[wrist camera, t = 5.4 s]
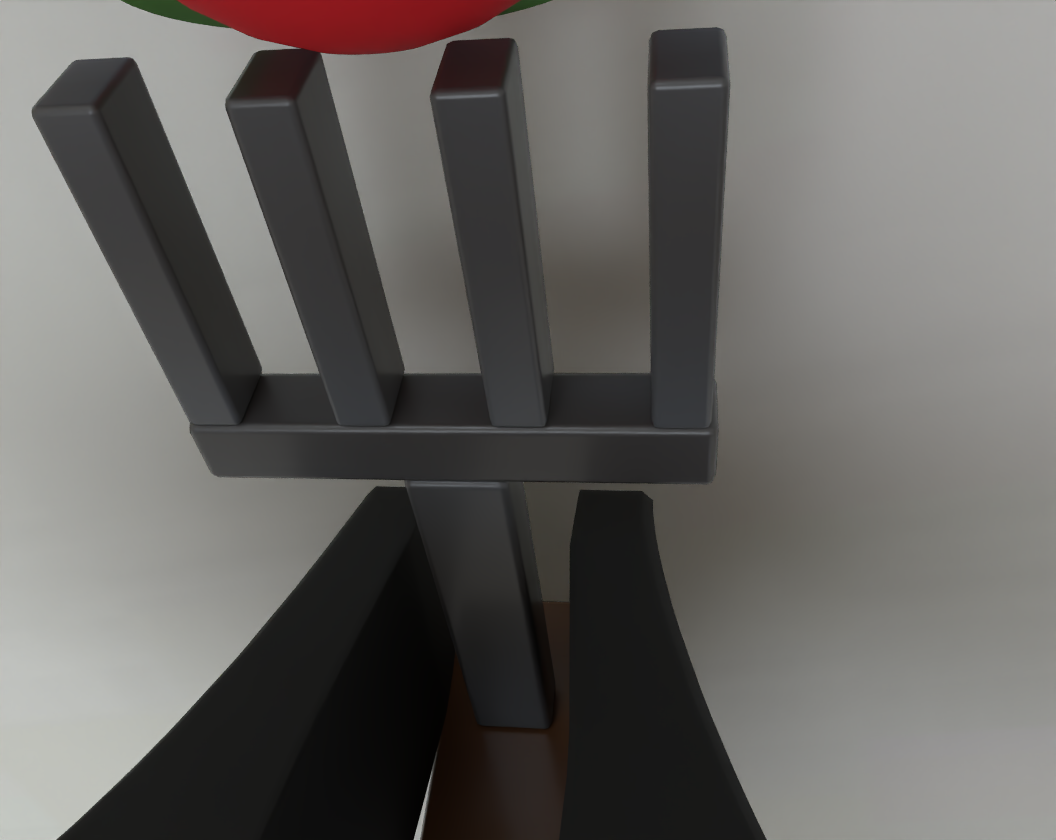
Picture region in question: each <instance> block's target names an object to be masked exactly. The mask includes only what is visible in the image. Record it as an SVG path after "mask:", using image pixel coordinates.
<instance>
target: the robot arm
mask: <svg viewBox="0 0 1056 840" xmlns="http://www.w3.org/2000/svg"><path fill="white" fill-rule="evenodd" d="M454 659H455V648H454V645H453V642H452V638H451V635H450V632H449V628H448V625H447V622H446V618H445V615H444V612H443V608H442V605H441V602H440V598H439V595H438V592H437V588H436V585H435V582H434V578H433V575H432V572H431V568H430V565H429V562H428V558H427V555H426V552H425V548H424V545H423V542H422V538H421V535H420V532H419V528H418V525H417V522H416V518H415V515H414V512H413V508H412V505H411V502H410V498H409V495H408V492H407V488H406V487H379V486H376V487H375V488H374V489H373V490H372V491H371V492H370V493H369V494H368V495H367V496H366V497H365V499H364V500H363V501H362V503H361V504H360V505H359V506H358V508H357V509H356V510H355V512H354V513H353V514H352V516H351V517H350V518H349V520H348V521H347V522H346V524H345V525H344V526H343V527H342V529H341V530H340V531H339V533H338V534H337V535H336V537H335V538H334V539H333V541H332V542H331V543H330V544H329V546H328V547H327V548H326V550H325V551H324V552H323V553H322V555H321V556H320V557H319V559H318V560H317V561H316V562H315V564H314V565H313V566H312V567H311V569H310V570H309V571H308V573H307V574H306V575H305V576H304V578H303V579H302V580H301V581H300V583H299V584H298V585H297V586H296V588H295V589H294V590H293V591H292V593H291V594H290V595H289V596H288V597H287V599H286V600H285V601H284V602H283V603H282V605H281V606H280V607H279V608H278V609H277V611H276V612H275V613H274V614H273V615H272V617H271V618H270V619H269V620H268V621H267V623H266V624H265V625H264V626H263V627H262V629H261V630H260V631H259V632H258V633H257V635H256V636H255V637H254V638H253V639H252V641H251V642H250V643H249V644H248V645H247V647H246V648H245V649H244V650H243V651H242V652H241V653H240V655H239V656H238V657H237V658H236V659H235V660H234V661H233V663H232V664H231V665H230V666H229V667H228V668H227V669H226V670H225V671H224V672H223V674H222V675H221V676H220V677H219V678H218V679H217V680H216V681H215V682H214V683H213V684H212V686H211V687H210V688H209V689H208V690H207V691H206V692H205V693H204V694H203V695H202V696H201V698H200V699H199V700H198V701H197V702H196V703H195V704H194V705H193V706H192V707H191V708H190V710H189V711H188V712H187V713H186V714H185V715H184V716H183V717H182V718H181V719H180V720H179V722H178V723H177V724H176V725H175V726H174V727H173V728H172V729H171V730H170V731H169V732H168V733H167V734H166V735H165V736H164V737H163V738H162V739H161V740H160V741H159V742H158V743H157V744H156V745H155V746H154V747H153V749H152V750H151V751H150V752H149V753H148V754H147V755H146V756H145V757H144V758H143V759H142V760H141V761H140V762H139V763H138V764H137V765H136V766H135V767H134V768H133V769H132V770H131V771H130V772H128V773H127V774H126V775H125V776H124V777H123V778H122V779H121V780H120V781H119V782H118V783H117V784H116V785H115V786H114V787H113V788H112V789H111V790H110V791H109V792H108V793H107V794H106V795H105V796H103V797H102V798H101V799H100V800H99V801H98V802H97V803H96V804H95V805H94V806H93V807H92V808H91V809H90V810H89V811H88V812H87V813H86V814H84V815H83V816H82V817H81V818H80V819H79V820H78V821H77V822H76V823H75V824H74V825H73V826H71V827H70V828H69V829H68V830H67V831H66V832H65V833H64V834H62V835H61V836H60V837H59V838H58V839H57V840H414V836H415V832H416V829H417V825H418V821H419V817H420V813H421V810H422V806H423V802H424V798H425V794H426V791H427V787H428V783H429V779H430V775H431V771H432V768H433V764H434V760H435V756H436V752H437V748H438V744H439V740H440V737H441V733H442V729H443V725H444V721H445V717H446V713H447V707H448V700H449V694H450V687H451V680H452V674H453V667H454ZM559 840H767V839H766V837H765V835H764V833H763V831H762V829H761V827H760V825H759V823H758V821H757V819H756V817H755V815H754V813H753V810H752V808H751V806H750V804H749V802H748V800H747V798H746V795H745V793H744V791H743V789H742V787H741V784H740V782H739V780H738V778H737V775H736V773H735V771H734V769H733V766H732V764H731V762H730V759H729V757H728V755H727V752H726V750H725V748H724V745H723V743H722V741H721V738H720V736H719V733H718V731H717V729H716V726H715V724H714V722H713V719H712V717H711V714H710V712H709V709H708V706H707V704H706V701H705V699H704V696H703V694H702V691H701V689H700V686H699V683H698V680H697V677H696V675H695V672H694V669H693V666H692V663H691V660H690V658H689V655H688V652H687V649H686V646H685V643H684V640H683V638H682V635H681V632H680V629H679V626H678V623H677V619H676V616H675V613H674V610H673V606H672V603H671V599H670V596H669V592H668V588H667V584H666V581H665V577H664V573H663V569H662V565H661V560H660V555H659V551H658V545H657V540H656V534H655V526H654V517H653V500H652V499H651V498H650V497H648V496H647V495H646V494H645V493H644V492H642V491H609V490H580V492H579V497H578V502H577V508H576V513H575V518H574V524H573V530H572V536H571V542H570V626H569V743H568V761H567V778H566V786H565V795H564V803H563V811H562V819H561V827H560V836H559Z"/></svg>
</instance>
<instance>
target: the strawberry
mask: <svg viewBox="0 0 1056 840" xmlns="http://www.w3.org/2000/svg"><path fill="white" fill-rule="evenodd" d="M121 1H123V2H125V3H127V4H129V5H131V6H134V7H137V8H139V9H142V10H145V11H148V12H151V13H153V14H157V15H161V16H164V17H168V18H172V19H177V20H181V21H186V22H191V23H197V24H203V25H210V26H217V27H225V28H233V29H235V30H237V31H240V32H242V33H244V34H246V35H248V36H251V37H254V38H257V39H260V40H265V41H269V42H274V43H279V44H283V45H288V46H293V47H297V48H302V49H307V50H311V51H316V52H321V53H328V54H347V55H360V54H379V53H390V52H398V51H404V50H409V49H414V48H418V47H421V46H424V45H427V44H430V43H433V42H436V41H439V40H442V39H445V38H448V37H451V36H454V35H457V34H460V33H463V32H466V31H469V30H471V29H474V28H477V27H479V26H480V25H482V24H484V23H485V22H487V21H489V20H490V19H492V18H493V17H495V16H498V15H503V14H507V13H511V12H515V11H519V10H523V9H527V8H530V7H533V6H537V5H540V4H543V3H546V2H549V1H551V0H121Z"/></svg>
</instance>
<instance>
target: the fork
mask: <svg viewBox="0 0 1056 840" xmlns="http://www.w3.org/2000/svg"><path fill="white" fill-rule="evenodd" d="M729 99H730V74H729V62H728V50H727V37H726V34H725V32H724V30H723V29H721V28H717V27H713V28H694V29H674V30H658V31H655V32H653V33H652V35H651V37H650V40H649V60H648V174H649V264H650V353H651V373H553V372H554V366H553V357H552V348H551V339H550V330H549V321H548V312H547V303H546V294H545V285H544V276H543V267H542V258H541V249H540V240H539V231H538V222H537V213H536V204H535V195H534V186H533V177H532V168H531V159H530V150H529V141H528V132H527V123H526V114H525V105H524V96H523V87H522V78H521V69H520V60H519V51H518V46H517V44H516V42H515V40H514V39H511V38H497V39H478V40H458V41H452V42H450V43H448V44H447V45H446V48H445V51H444V54H443V57H442V60H441V63H440V66H439V69H438V72H437V75H436V78H435V81H434V84H433V87H432V90H431V94H430V101H431V106H432V112H433V117H434V122H435V128H436V133H437V138H438V144H439V149H440V154H441V160H442V165H443V170H444V176H445V181H446V186H447V192H448V197H449V203H450V208H451V213H452V219H453V224H454V229H455V235H456V240H457V245H458V251H459V256H460V261H461V267H462V272H463V278H464V283H465V288H466V294H467V299H468V304H469V310H470V315H471V320H472V326H473V331H474V336H475V342H476V347H477V353H478V358H479V363H480V369H481V373H474V374H404V370H405V369H404V365H403V361H402V357H401V354H400V350H399V346H398V342H397V338H396V335H395V331H394V327H393V323H392V320H391V316H390V312H389V308H388V305H387V301H386V297H385V293H384V289H383V286H382V282H381V278H380V274H379V271H378V267H377V263H376V259H375V255H374V252H373V248H372V244H371V240H370V237H369V233H368V229H367V225H366V222H365V218H364V214H363V210H362V206H361V203H360V199H359V195H358V191H357V188H356V184H355V180H354V176H353V173H352V169H351V165H350V161H349V157H348V154H347V150H346V146H345V142H344V139H343V135H342V131H341V127H340V123H339V120H338V116H337V112H336V108H335V105H334V101H333V97H332V93H331V90H330V86H329V82H328V78H327V74H326V71H325V67H324V63H323V59H322V56H321V53H320V52H316V51H311V50H307V49H302V48H301V49H282V50H262V51H258V52H256V53H254V54H253V56H252V57H251V59H250V61H249V62H248V64H247V66H246V67H245V69H244V70H243V72H242V74H241V75H240V77H239V79H238V80H237V82H236V83H235V85H234V87H233V88H232V90H231V91H230V93H229V95H228V96H227V98H226V103H225V107H226V111H227V114H228V116H229V119H230V122H231V125H232V128H233V130H234V133H235V136H236V139H237V142H238V145H239V147H240V150H241V153H242V156H243V159H244V162H245V164H246V167H247V170H248V173H249V176H250V178H251V181H252V184H253V187H254V190H255V193H256V195H257V198H258V201H259V204H260V207H261V209H262V212H263V215H264V218H265V221H266V224H267V226H268V229H269V232H270V235H271V238H272V240H273V243H274V246H275V249H276V252H277V255H278V257H279V260H280V263H281V266H282V269H283V272H284V274H285V277H286V280H287V283H288V286H289V288H290V291H291V294H292V297H293V300H294V303H295V305H296V308H297V311H298V314H299V317H300V319H301V322H302V325H303V328H304V331H305V334H306V336H307V339H308V342H309V345H310V348H311V351H312V353H313V356H314V359H315V362H316V365H317V367H318V370H319V373H320V374H261V373H262V367H261V364H260V362H259V359H258V357H257V354H256V352H255V350H254V347H253V345H252V342H251V340H250V337H249V335H248V333H247V330H246V328H245V325H244V323H243V320H242V318H241V316H240V313H239V311H238V308H237V306H236V303H235V301H234V299H233V296H232V294H231V291H230V289H229V286H228V284H227V282H226V279H225V277H224V274H223V272H222V269H221V267H220V265H219V262H218V260H217V257H216V255H215V252H214V250H213V248H212V245H211V243H210V240H209V238H208V235H207V233H206V231H205V228H204V226H203V223H202V221H201V218H200V216H199V214H198V211H197V209H196V206H195V204H194V201H193V199H192V197H191V194H190V192H189V189H188V187H187V184H186V182H185V180H184V177H183V175H182V172H181V170H180V167H179V165H178V163H177V160H176V158H175V155H174V153H173V150H172V148H171V146H170V143H169V141H168V138H167V136H166V133H165V131H164V129H163V126H162V124H161V121H160V119H159V116H158V114H157V112H156V109H155V107H154V104H153V102H152V99H151V97H150V95H149V92H148V90H147V87H146V85H145V82H144V80H143V78H142V75H141V73H140V70H139V68H138V65H137V63H136V62H135V61H134V59H132V58H129V57H125V58H105V59H86V60H76V61H74V62H72V63H71V64H70V65H69V66H68V68H67V69H66V70H65V71H64V72H63V73H62V74H61V76H60V77H59V78H58V79H57V80H56V81H55V82H54V84H53V85H52V86H51V87H50V88H49V89H48V90H47V92H46V93H45V94H44V95H43V96H42V97H41V98H40V100H39V101H38V102H37V103H36V104H35V105H34V106H33V108H32V117H33V119H34V121H35V123H36V125H37V127H38V129H39V130H40V132H41V134H42V136H43V138H44V140H45V142H46V144H47V146H48V148H49V150H50V152H51V154H52V156H53V158H54V160H55V162H56V163H57V165H58V167H59V169H60V171H61V173H62V175H63V177H64V179H65V181H66V183H67V185H68V187H69V189H70V191H71V193H72V195H73V196H74V198H75V200H76V202H77V204H78V206H79V208H80V210H81V212H82V214H83V216H84V218H85V220H86V222H87V224H88V226H89V228H90V229H91V231H92V233H93V235H94V237H95V239H96V241H97V243H98V245H99V247H100V249H101V251H102V253H103V255H104V257H105V259H106V261H107V262H108V264H109V266H110V268H111V270H112V272H113V274H114V276H115V278H116V280H117V282H118V284H119V286H120V288H121V290H122V292H123V294H124V295H125V297H126V299H127V301H128V303H129V305H130V307H131V309H132V311H133V313H134V315H135V317H136V319H137V321H138V323H139V325H140V327H141V328H142V330H143V332H144V334H145V336H146V338H147V340H148V342H149V344H150V346H151V348H152V350H153V352H154V354H155V356H156V358H157V360H158V361H159V363H160V365H161V367H162V369H163V371H164V373H165V375H166V377H167V379H168V381H169V383H170V385H171V387H172V389H173V391H174V393H175V394H176V396H177V398H178V400H179V402H180V404H181V406H182V408H183V410H184V412H185V414H186V416H187V418H188V420H189V422H190V433H191V435H192V437H193V439H194V441H195V443H196V445H197V447H198V449H199V451H200V453H201V454H202V456H203V458H204V460H205V462H206V464H207V466H208V468H209V470H210V472H211V473H212V474H213V475H215V476H217V477H239V478H307V479H375V480H405V485H406V488H407V492H408V495H409V498H410V502H411V505H412V508H413V512H414V515H415V518H416V522H417V525H418V528H419V532H420V535H421V538H422V542H423V545H424V548H425V552H426V555H427V558H428V562H429V565H430V568H431V572H432V575H433V578H434V582H435V585H436V588H437V592H438V595H439V598H440V602H441V605H442V608H443V612H444V615H445V618H446V622H447V625H448V628H449V632H450V635H451V638H452V642H453V645H454V648H455V659H454V667H453V674H452V680H451V687H450V694H449V700H448V707H447V713H446V717H445V721H444V725H443V729H442V733H441V737H440V740H439V744H438V748H437V752H436V756H435V760H434V764H433V768H432V774H431V780H430V786H429V792H428V797H427V803H426V809H425V815H424V821H423V826H422V832H421V838H420V840H559V836H560V827H561V819H562V811H563V803H564V795H565V786H566V778H567V761H568V743H569V626H570V602H548V601H542V596H541V590H540V583H539V577H538V571H537V565H536V559H535V552H534V546H533V540H532V534H531V528H530V521H529V515H528V509H527V503H526V497H525V491H524V484H523V482H579V483H648V484H708V483H712V481H713V479H714V477H715V475H716V464H717V448H718V432H719V429H718V407H717V384H716V381H715V379H714V372H715V353H716V335H717V317H718V299H719V281H720V262H721V244H722V226H723V208H724V190H725V171H726V153H727V135H728V117H729Z"/></svg>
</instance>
